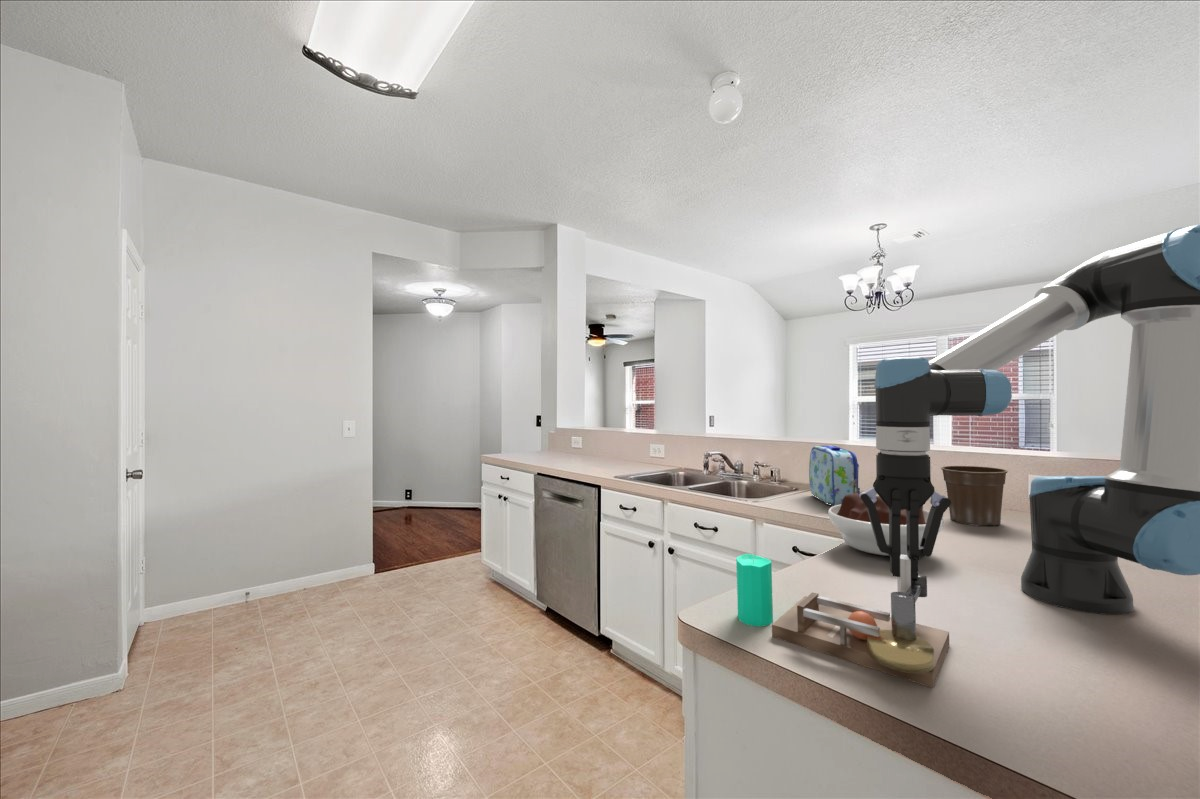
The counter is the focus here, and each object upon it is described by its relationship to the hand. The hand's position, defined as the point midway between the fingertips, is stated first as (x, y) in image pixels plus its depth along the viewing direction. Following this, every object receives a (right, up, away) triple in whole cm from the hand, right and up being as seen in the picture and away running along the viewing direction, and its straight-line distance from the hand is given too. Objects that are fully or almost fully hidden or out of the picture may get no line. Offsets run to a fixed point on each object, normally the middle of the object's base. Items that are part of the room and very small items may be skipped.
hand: (904, 596), depth 79 cm
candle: (-22, -7, +7) cm, 24 cm away
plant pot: (+64, -5, +69) cm, 94 cm away
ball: (-10, -4, -5) cm, 12 cm away
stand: (-8, -6, -2) cm, 11 cm away
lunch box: (+37, -6, +101) cm, 107 cm away
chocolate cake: (+22, -6, +43) cm, 48 cm away
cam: (-3, -4, -8) cm, 9 cm away
